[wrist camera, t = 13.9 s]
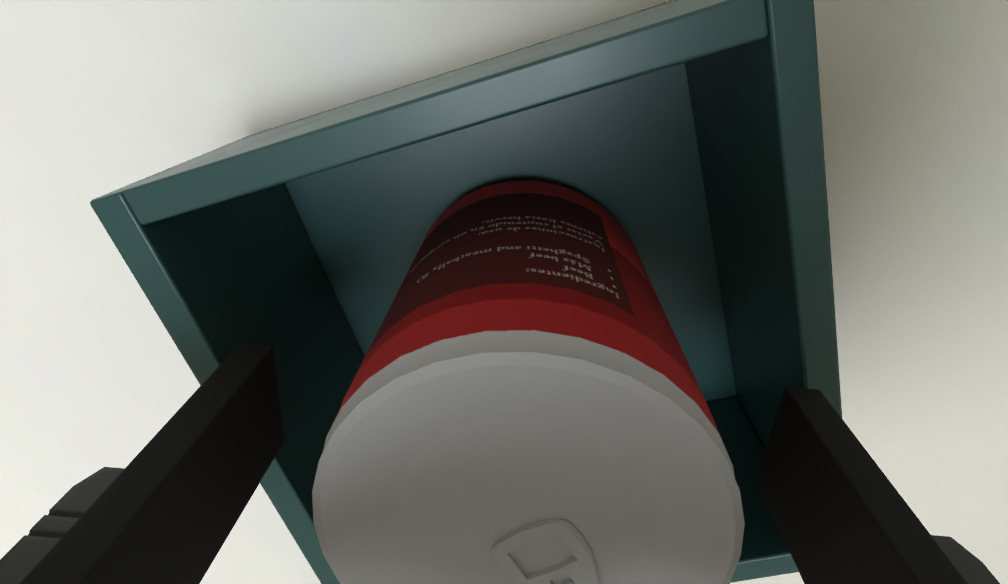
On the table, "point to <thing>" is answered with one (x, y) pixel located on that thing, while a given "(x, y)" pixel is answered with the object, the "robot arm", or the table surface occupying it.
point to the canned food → (526, 416)
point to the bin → (516, 157)
